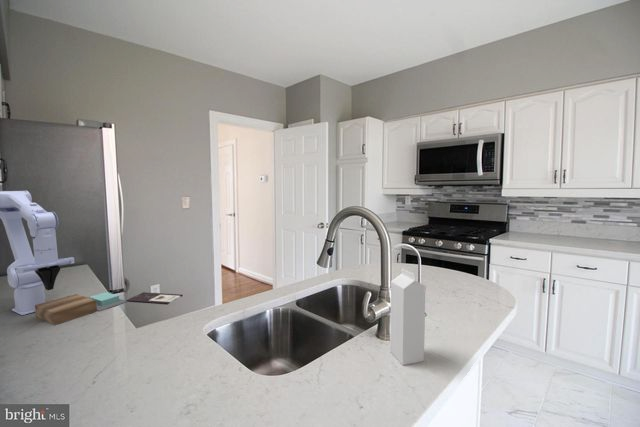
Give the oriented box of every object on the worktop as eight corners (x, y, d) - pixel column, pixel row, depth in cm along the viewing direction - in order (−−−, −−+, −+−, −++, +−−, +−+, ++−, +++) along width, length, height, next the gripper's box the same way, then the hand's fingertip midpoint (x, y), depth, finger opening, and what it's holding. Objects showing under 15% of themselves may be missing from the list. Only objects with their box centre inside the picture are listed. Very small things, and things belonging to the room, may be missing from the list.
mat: (77, 303, 115) (77, 302, 115) (105, 295, 123) (105, 294, 123) (99, 311, 107) (99, 310, 107) (127, 302, 115) (127, 301, 115)
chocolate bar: (143, 292, 125) (182, 294, 121) (143, 294, 125) (182, 296, 121) (125, 300, 116) (167, 303, 112) (125, 302, 116) (167, 305, 113)
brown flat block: (36, 316, 103) (34, 305, 103) (77, 304, 114) (76, 294, 114) (54, 325, 97) (53, 312, 96) (97, 311, 107) (96, 300, 107)
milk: (402, 365, 72) (403, 275, 70) (389, 352, 78) (390, 268, 76) (424, 361, 74) (426, 273, 72) (410, 348, 80) (411, 266, 78)
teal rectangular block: (106, 292, 120) (106, 296, 120) (88, 297, 115) (89, 302, 115) (118, 295, 116) (119, 300, 116) (101, 301, 111) (101, 306, 111)
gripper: (21, 254, 92) (26, 298, 93) (77, 246, 105) (80, 284, 106) (11, 252, 95) (16, 294, 96) (67, 244, 108) (70, 281, 109)
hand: (49, 289), depth 101 cm, fingers closed
